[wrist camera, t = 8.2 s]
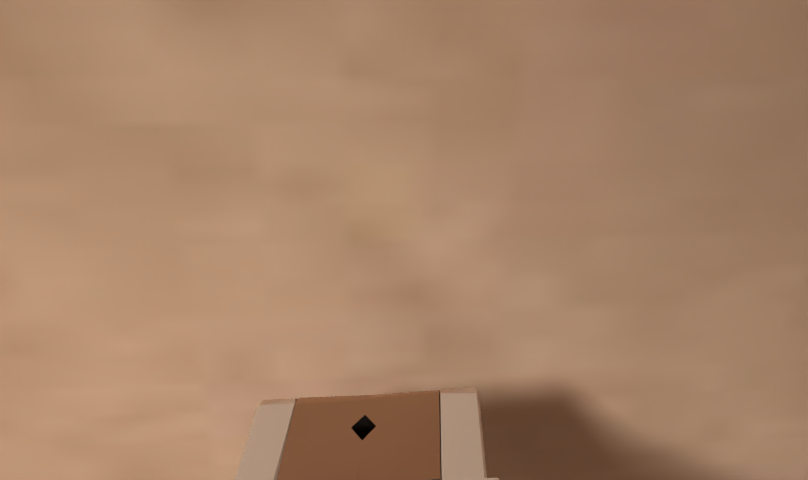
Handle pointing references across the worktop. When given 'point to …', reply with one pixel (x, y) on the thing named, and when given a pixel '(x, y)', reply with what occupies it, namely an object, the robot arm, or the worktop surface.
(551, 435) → the worktop surface
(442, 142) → the worktop surface
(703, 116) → the worktop surface
